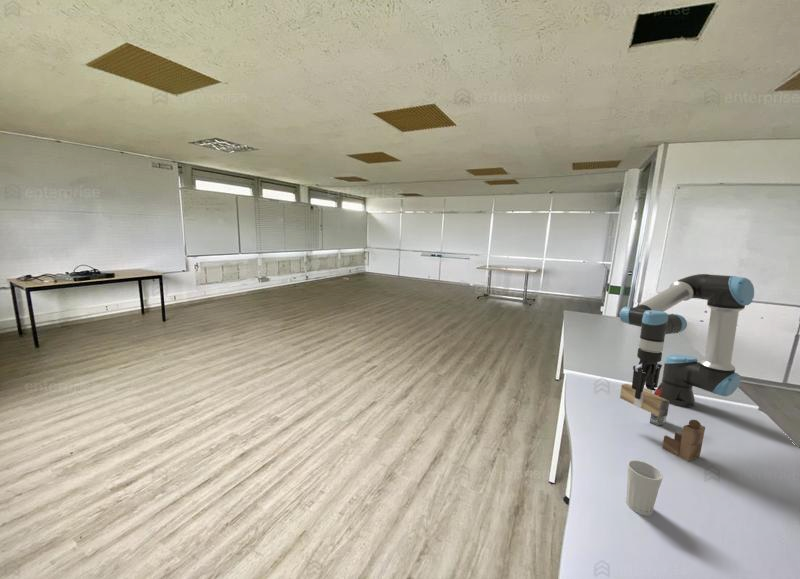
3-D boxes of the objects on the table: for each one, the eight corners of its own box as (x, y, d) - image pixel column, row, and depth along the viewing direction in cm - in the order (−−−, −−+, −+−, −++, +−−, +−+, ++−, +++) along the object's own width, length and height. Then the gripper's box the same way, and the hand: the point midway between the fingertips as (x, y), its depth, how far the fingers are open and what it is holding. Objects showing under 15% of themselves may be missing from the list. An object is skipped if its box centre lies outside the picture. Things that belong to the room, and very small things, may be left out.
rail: (626, 396, 136) (628, 383, 135) (667, 415, 121) (669, 400, 120) (619, 398, 134) (621, 384, 134) (660, 417, 120) (662, 402, 119)
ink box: (666, 421, 139) (671, 390, 137) (659, 426, 135) (664, 394, 133) (656, 417, 142) (661, 387, 140) (649, 422, 138) (654, 391, 136)
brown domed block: (675, 443, 123) (681, 409, 121) (700, 457, 116) (707, 420, 114) (662, 448, 120) (668, 412, 118) (687, 461, 113) (694, 424, 111)
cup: (615, 496, 96) (621, 460, 94) (640, 495, 97) (645, 459, 95) (637, 518, 88) (643, 480, 87) (663, 517, 89) (670, 479, 87)
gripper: (654, 344, 131) (646, 397, 134) (625, 348, 125) (617, 403, 129) (675, 350, 124) (666, 406, 127) (645, 355, 118) (636, 413, 122)
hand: (641, 404), depth 128 cm, fingers closed on rail, 4 cm apart
